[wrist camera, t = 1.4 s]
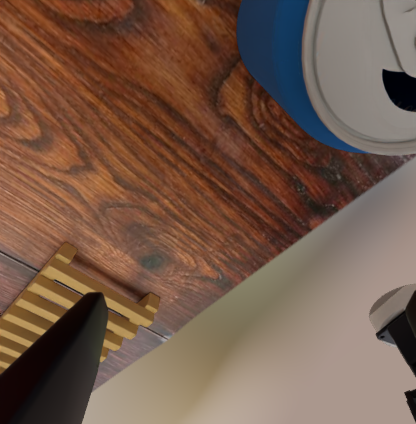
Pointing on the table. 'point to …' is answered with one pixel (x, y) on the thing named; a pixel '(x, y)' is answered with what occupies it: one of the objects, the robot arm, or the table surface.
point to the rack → (43, 285)
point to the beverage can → (337, 68)
